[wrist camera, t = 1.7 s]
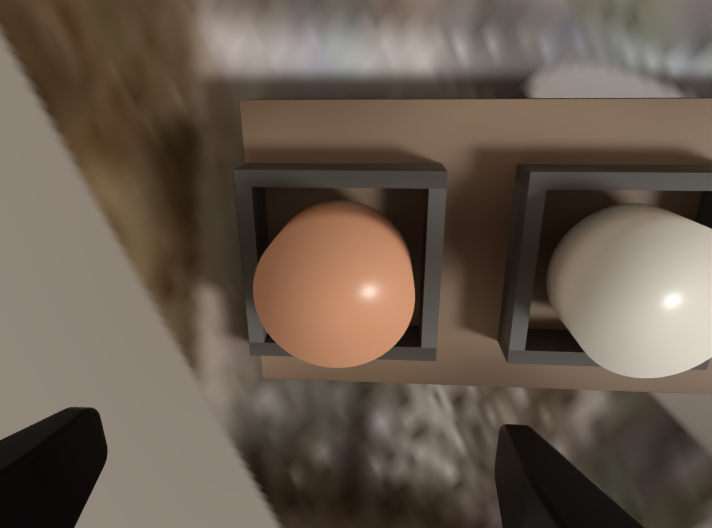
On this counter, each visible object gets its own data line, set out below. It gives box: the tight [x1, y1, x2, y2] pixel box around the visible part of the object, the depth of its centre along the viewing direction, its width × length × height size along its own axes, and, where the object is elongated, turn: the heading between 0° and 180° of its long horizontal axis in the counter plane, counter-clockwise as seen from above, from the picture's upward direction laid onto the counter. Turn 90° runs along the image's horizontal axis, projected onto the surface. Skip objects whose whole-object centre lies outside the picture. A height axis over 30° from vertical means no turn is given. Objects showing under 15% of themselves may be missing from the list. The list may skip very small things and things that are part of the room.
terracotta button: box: [253, 200, 415, 368], centre depth 14 cm, size 4×4×2 cm
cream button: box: [546, 203, 712, 378], centre depth 13 cm, size 4×4×2 cm
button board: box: [233, 98, 712, 394], centre depth 16 cm, size 10×23×4 cm, turn 90°
